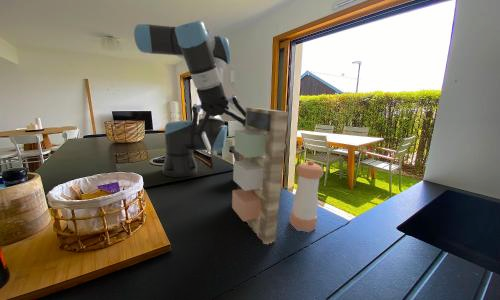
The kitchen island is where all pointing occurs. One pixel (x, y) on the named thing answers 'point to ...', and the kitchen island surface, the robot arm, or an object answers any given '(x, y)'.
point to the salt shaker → (306, 196)
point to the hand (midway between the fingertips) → (228, 145)
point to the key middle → (248, 174)
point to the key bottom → (246, 204)
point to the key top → (250, 143)
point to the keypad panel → (268, 167)
